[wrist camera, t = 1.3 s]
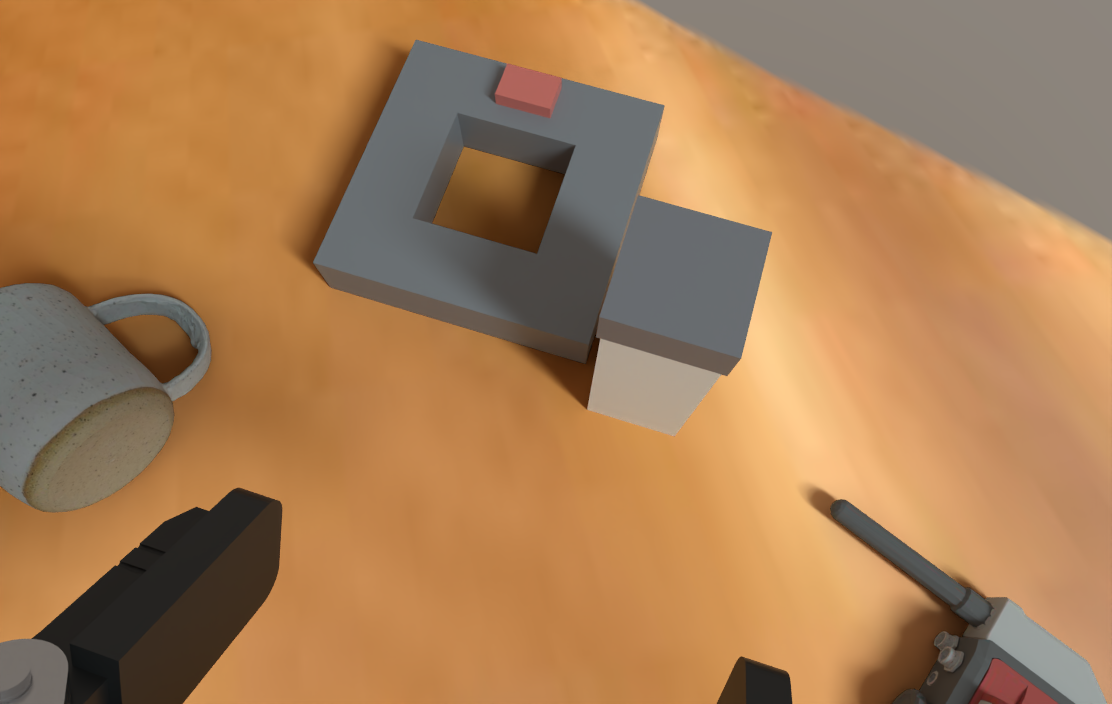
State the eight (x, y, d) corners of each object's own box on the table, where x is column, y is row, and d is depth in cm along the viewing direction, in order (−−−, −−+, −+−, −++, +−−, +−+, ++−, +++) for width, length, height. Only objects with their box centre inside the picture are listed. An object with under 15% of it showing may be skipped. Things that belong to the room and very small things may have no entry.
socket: (330, 287, 39) (307, 255, 35) (424, 76, 43) (413, 28, 39) (585, 364, 38) (589, 339, 34) (656, 139, 42) (666, 95, 38)
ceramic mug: (97, 534, 35) (-20, 514, 28) (-15, 429, 36) (-154, 383, 29) (260, 366, 38) (193, 308, 30) (150, 275, 39) (61, 199, 32)
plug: (583, 411, 37) (599, 316, 24) (610, 325, 38) (637, 195, 26) (676, 440, 36) (740, 358, 24) (700, 352, 38) (771, 232, 25)
